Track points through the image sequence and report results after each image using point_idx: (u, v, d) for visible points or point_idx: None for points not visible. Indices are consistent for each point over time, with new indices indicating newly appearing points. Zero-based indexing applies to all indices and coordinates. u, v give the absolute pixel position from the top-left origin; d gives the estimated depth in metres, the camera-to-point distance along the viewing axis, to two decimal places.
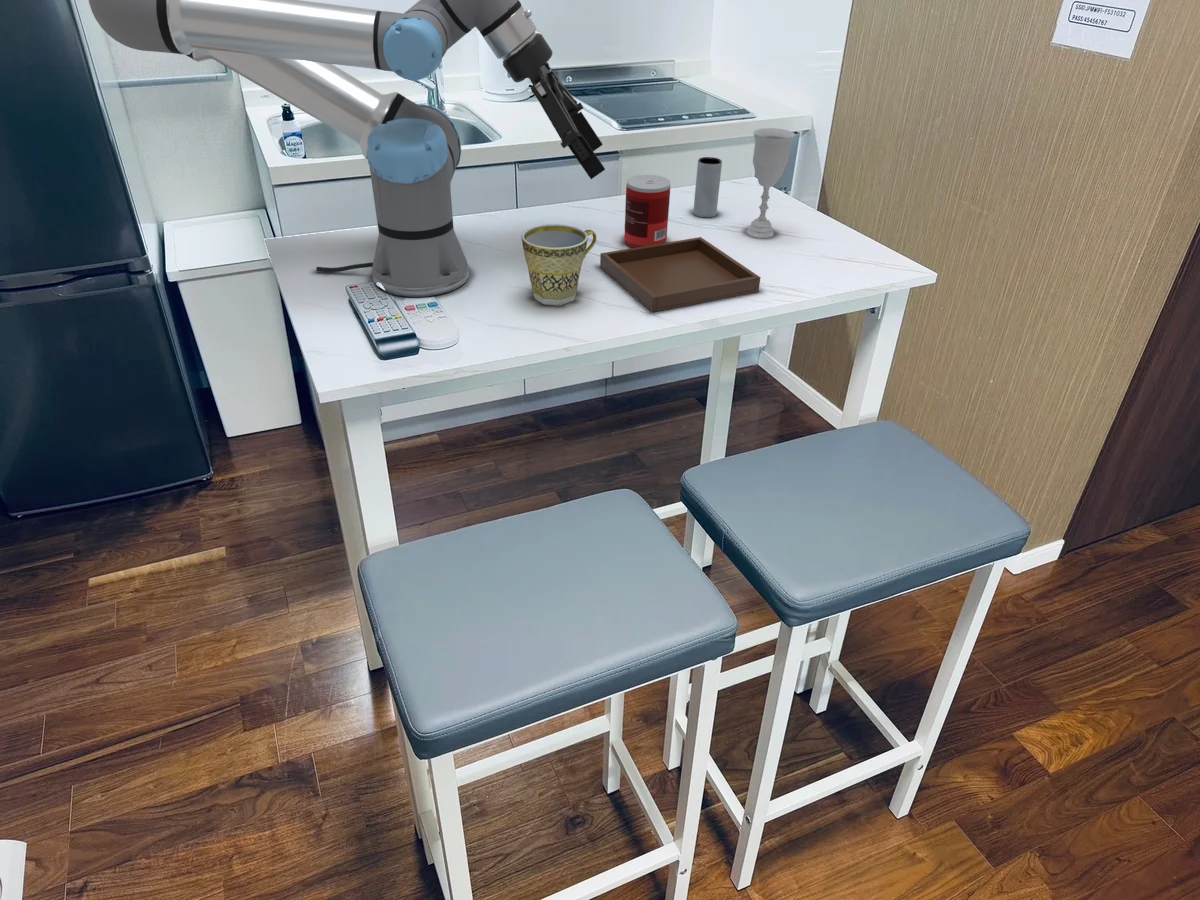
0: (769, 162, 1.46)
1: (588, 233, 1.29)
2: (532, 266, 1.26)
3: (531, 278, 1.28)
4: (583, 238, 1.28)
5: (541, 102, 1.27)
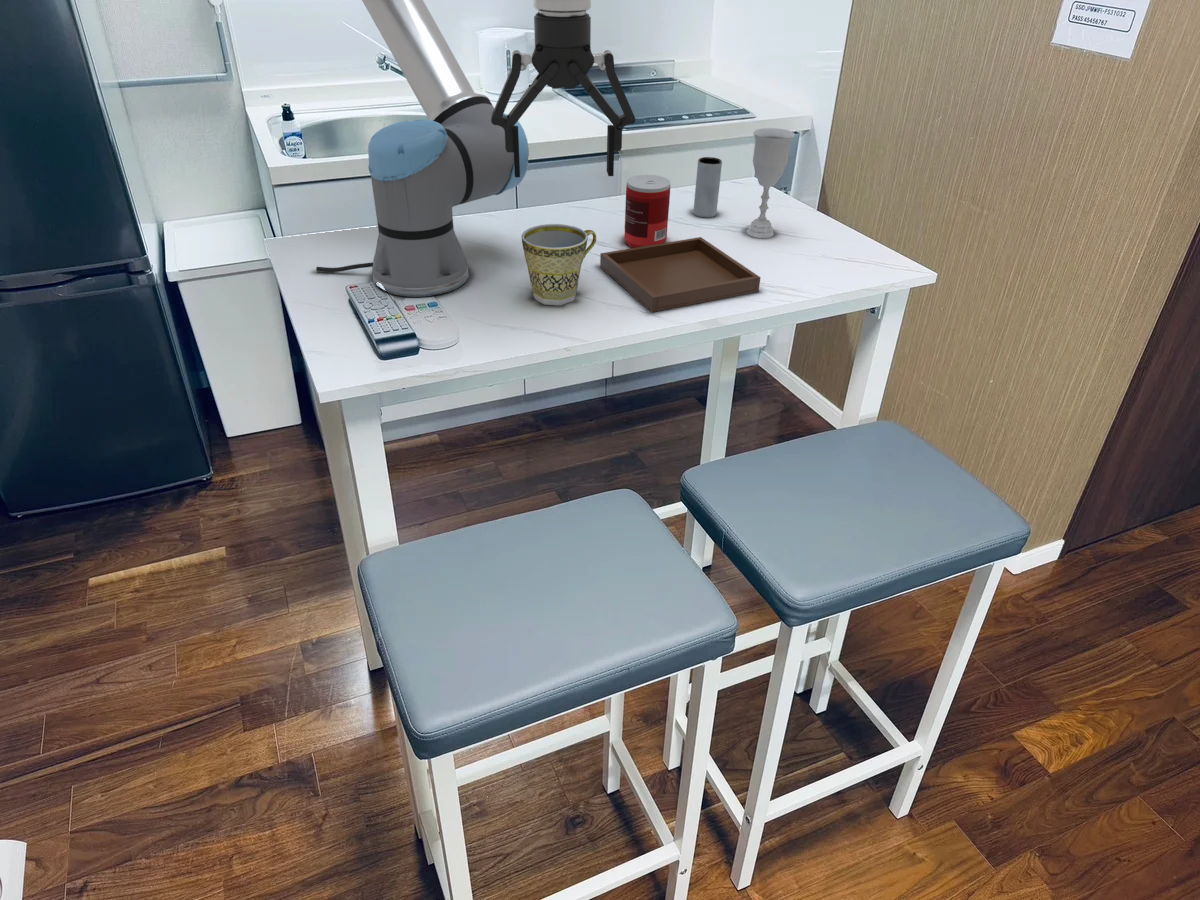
0: (769, 162, 1.46)
1: (588, 233, 1.29)
2: (532, 266, 1.26)
3: (531, 278, 1.28)
4: (583, 238, 1.28)
5: (510, 70, 1.15)
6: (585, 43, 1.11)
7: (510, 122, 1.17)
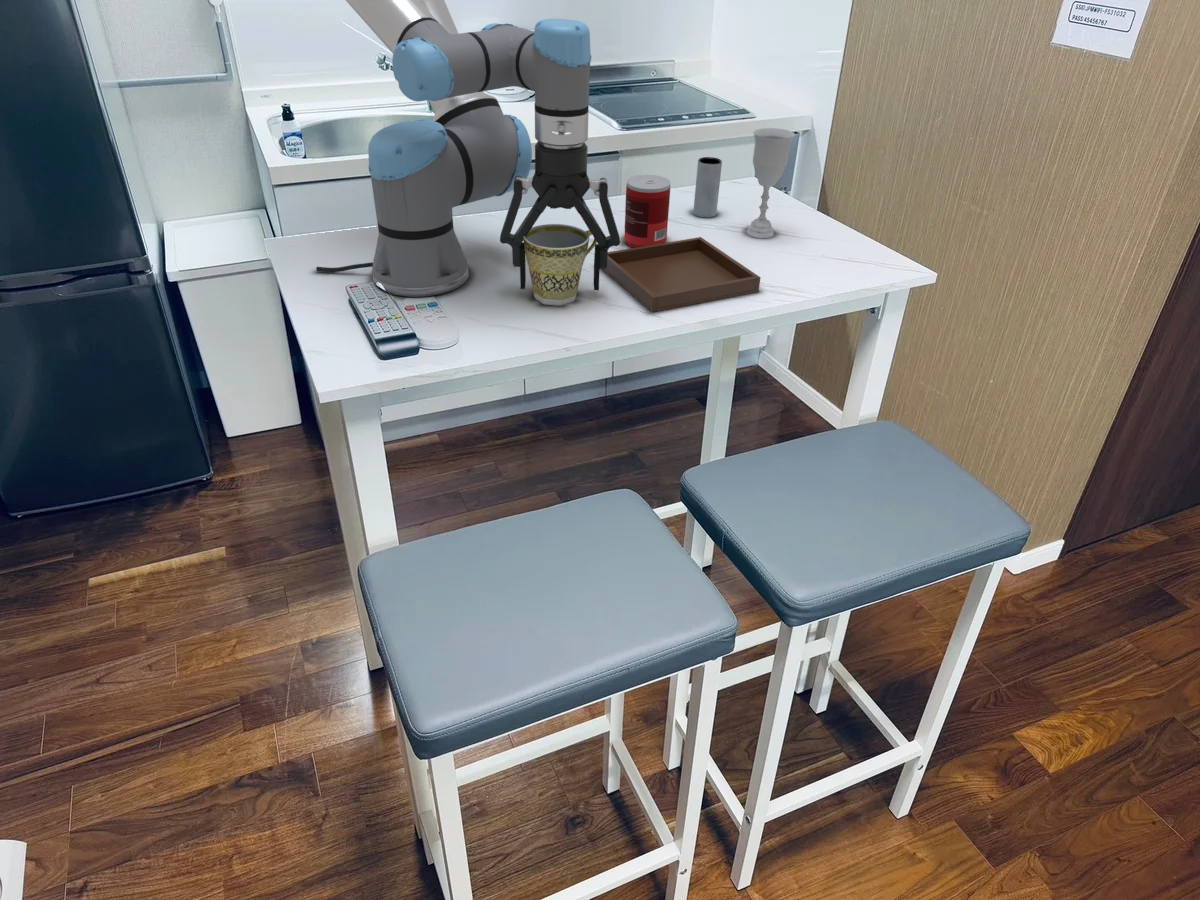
0: (769, 162, 1.46)
1: (589, 233, 1.29)
2: (533, 266, 1.26)
3: (532, 278, 1.28)
4: (584, 238, 1.28)
5: None
6: (581, 171, 1.19)
7: (517, 241, 1.26)
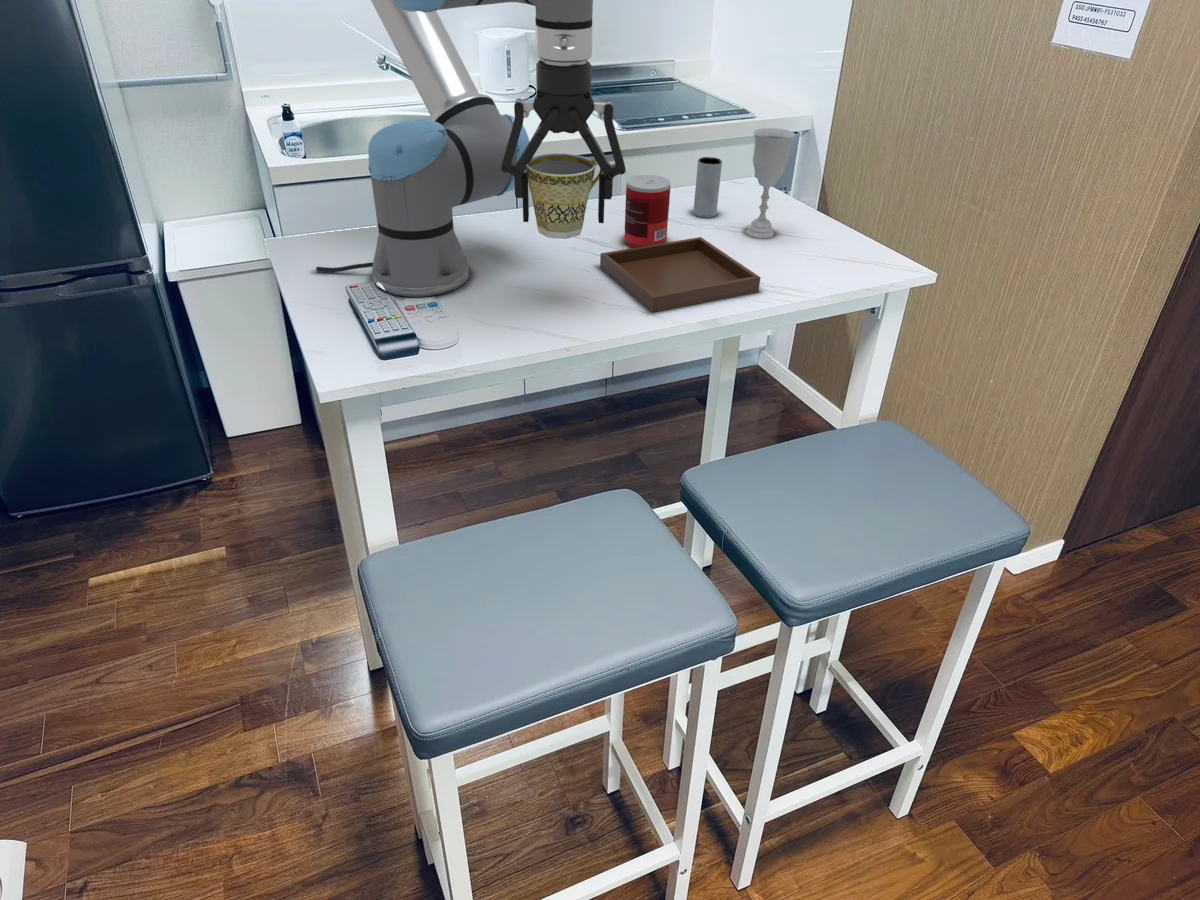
0: (769, 162, 1.46)
1: (595, 163, 1.24)
2: (537, 196, 1.20)
3: (536, 210, 1.23)
4: (590, 167, 1.22)
5: None
6: (585, 91, 1.13)
7: (519, 170, 1.20)
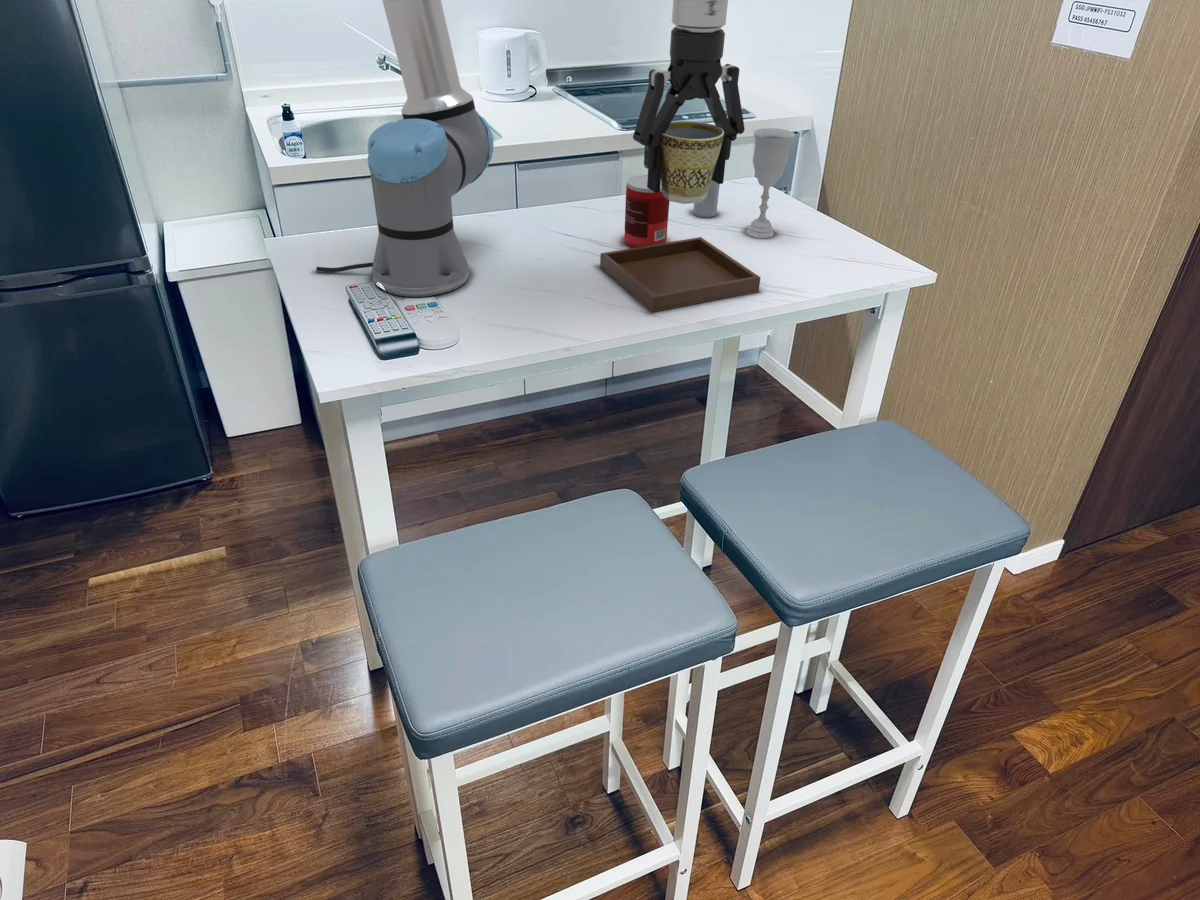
0: (769, 162, 1.46)
1: None
2: (677, 163, 1.23)
3: (670, 178, 1.25)
4: (709, 131, 1.27)
5: (648, 89, 1.19)
6: (722, 55, 1.18)
7: (656, 140, 1.22)
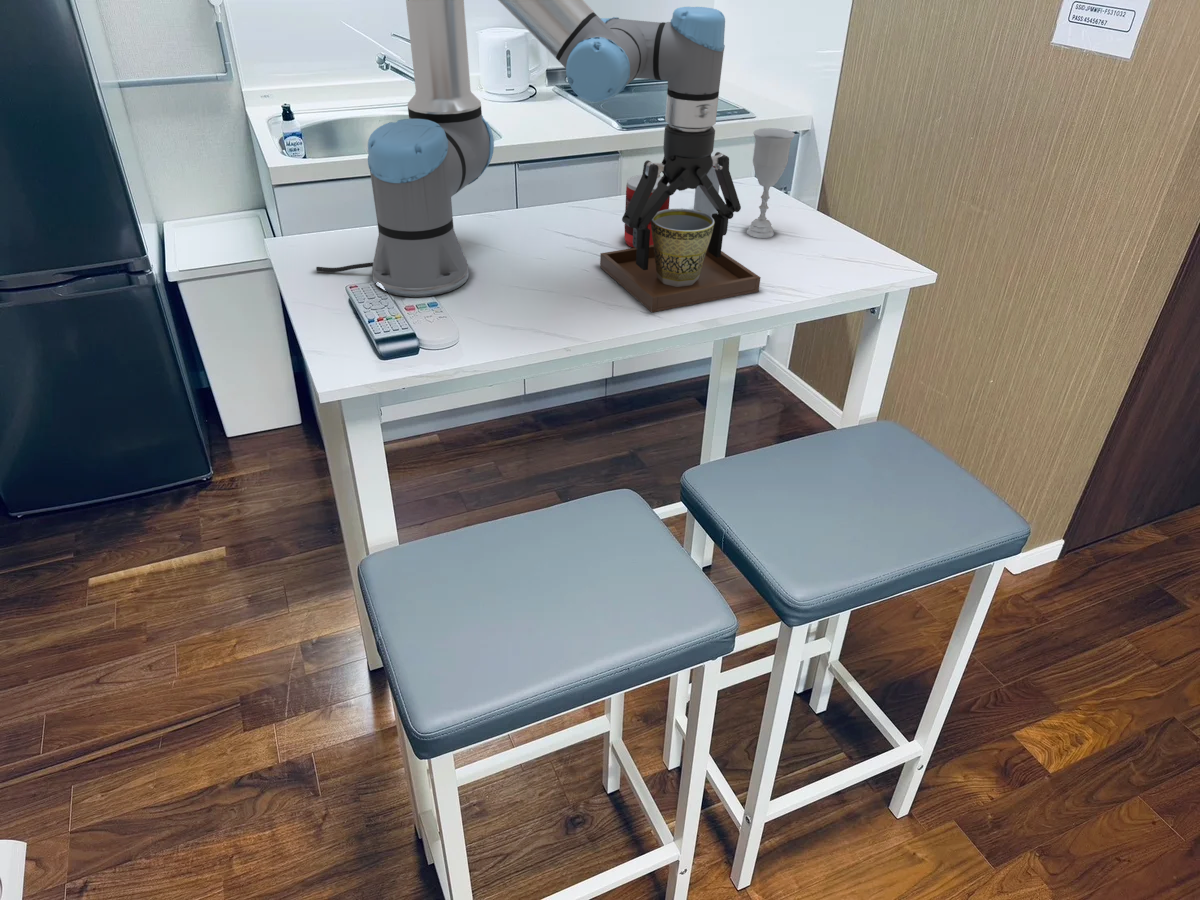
0: (769, 162, 1.46)
1: None
2: (670, 251, 1.31)
3: (664, 264, 1.33)
4: (701, 218, 1.35)
5: (642, 178, 1.27)
6: (712, 151, 1.26)
7: (644, 223, 1.29)
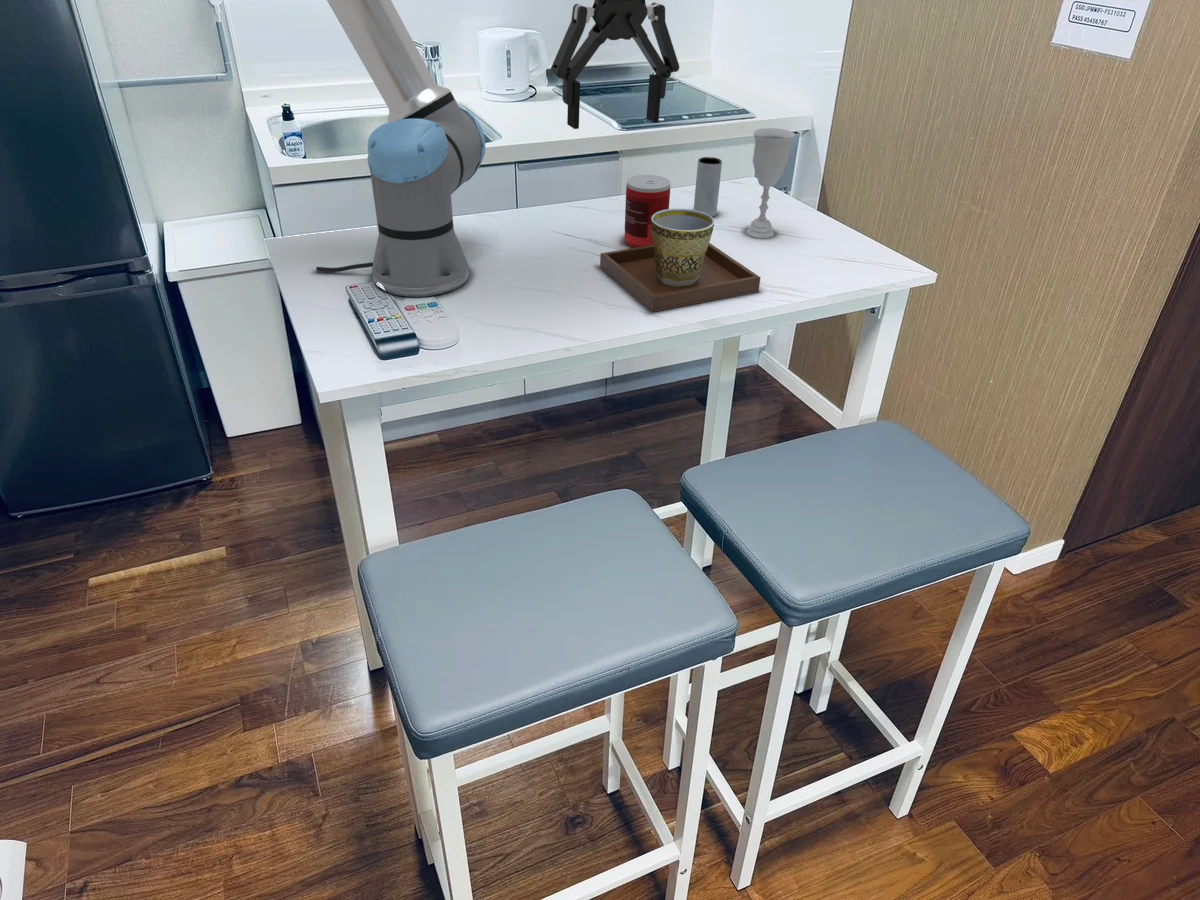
0: (769, 162, 1.46)
1: None
2: (670, 251, 1.31)
3: (664, 264, 1.33)
4: (701, 218, 1.35)
5: (570, 23, 1.19)
6: None
7: (573, 74, 1.21)
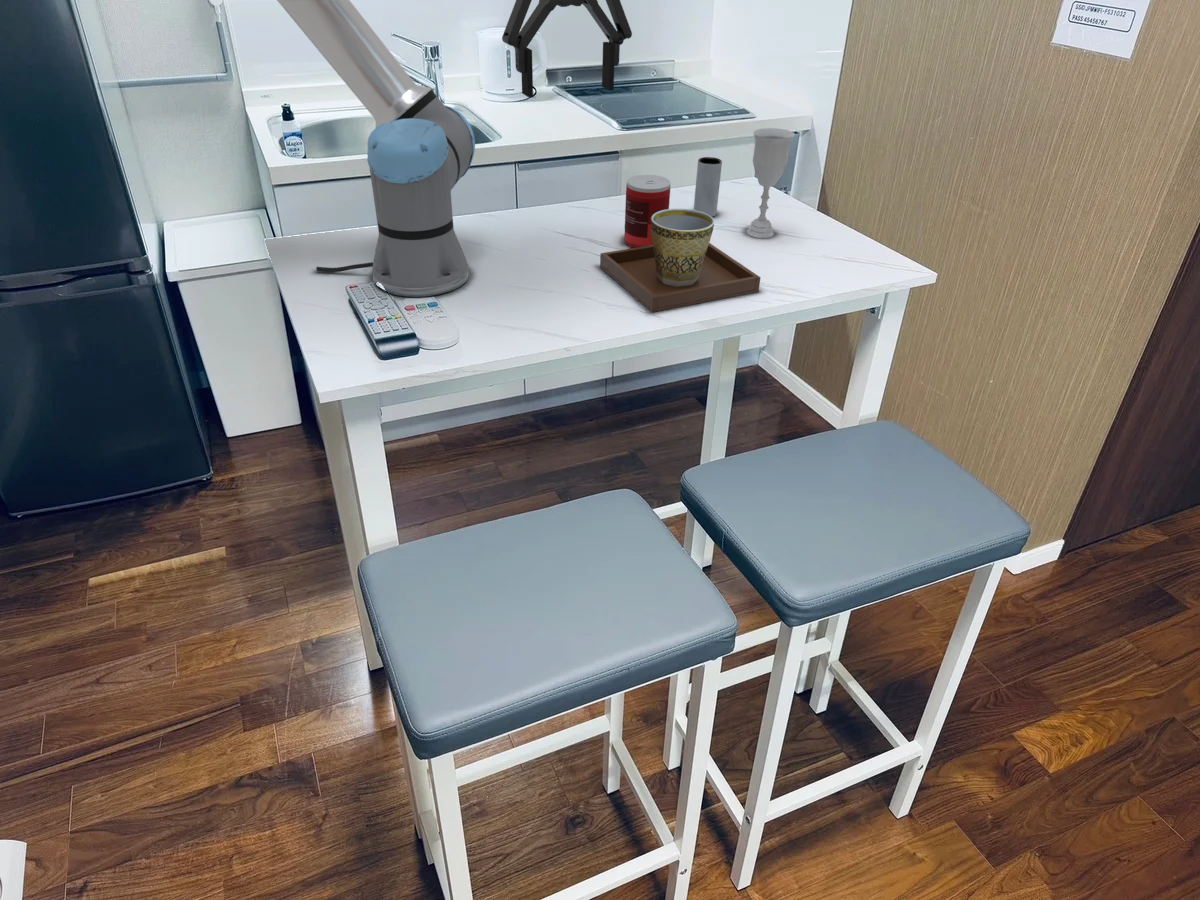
0: (769, 162, 1.46)
1: None
2: (670, 251, 1.31)
3: (664, 264, 1.33)
4: (701, 218, 1.35)
5: None
6: None
7: (525, 42, 1.22)
